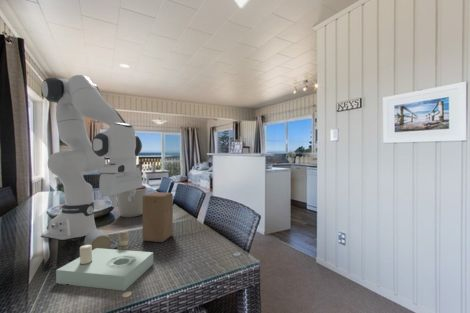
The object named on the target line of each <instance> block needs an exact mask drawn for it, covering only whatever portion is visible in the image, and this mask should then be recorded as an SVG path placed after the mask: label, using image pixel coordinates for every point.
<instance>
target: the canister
mask: <svg viewBox="0 0 470 313" xmlns="http://www.w3.org/2000/svg"><path fill="white" fill-rule="evenodd" d="M147 190H148V187H147V186H146V185H143V184H142V187H141V188H138V189H136V193H135V196H134V201H128V197H129V195H130V192H129V191H126V192H123V193H119V194H117V197H116V199H117V201H119V206H117V207H118V212H119V215H120V216H121V217H123V218H134V217H139V216H141V215H142V197H143V196H144V195H147Z"/></svg>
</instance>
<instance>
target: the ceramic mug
mask: <svg viewBox="0 0 470 313" xmlns="http://www.w3.org/2000/svg"><path fill="white" fill-rule="evenodd" d="M84 245H92V250H94V249H96V248H102V249H116V248H117V246H118V242H116V241H113V240H112V239H111V237H109V235H108V234H107V233H106V232H104V231H103V230H102V229H97V230H93V231H91V232H89V233H88V234H87V235H86V236H85V238H84Z"/></svg>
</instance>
